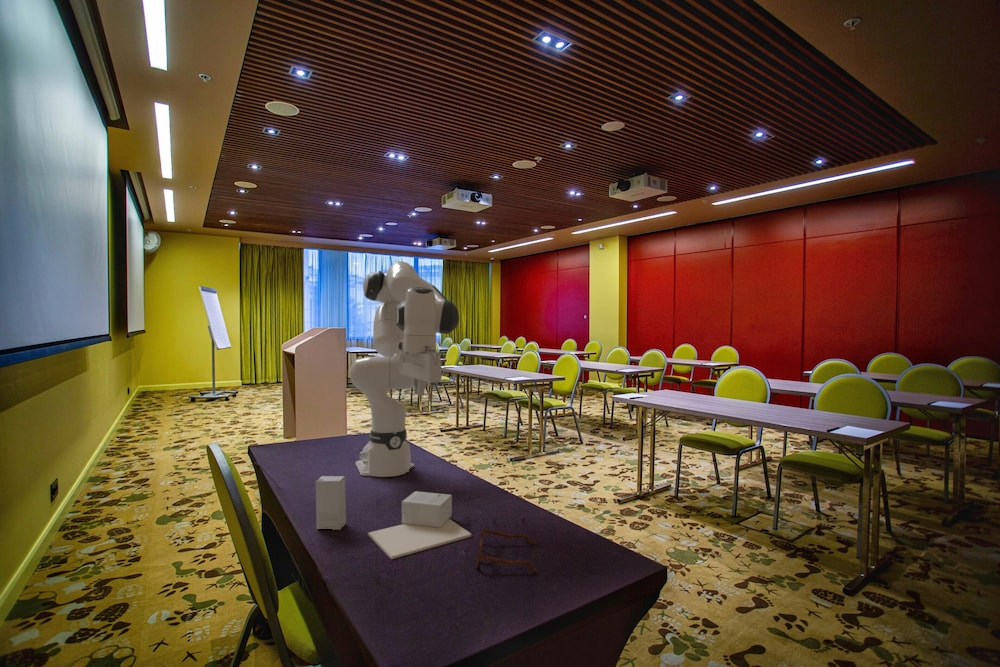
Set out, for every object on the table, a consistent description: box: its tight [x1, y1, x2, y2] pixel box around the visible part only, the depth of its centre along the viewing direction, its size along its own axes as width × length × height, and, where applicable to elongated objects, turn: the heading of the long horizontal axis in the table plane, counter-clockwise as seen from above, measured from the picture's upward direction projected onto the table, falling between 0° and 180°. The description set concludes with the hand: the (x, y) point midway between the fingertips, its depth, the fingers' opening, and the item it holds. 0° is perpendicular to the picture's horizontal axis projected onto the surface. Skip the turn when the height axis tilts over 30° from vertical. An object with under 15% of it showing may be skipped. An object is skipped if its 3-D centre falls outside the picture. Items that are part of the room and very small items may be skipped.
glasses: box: [475, 526, 538, 572], centre depth 103 cm, size 13×13×5 cm
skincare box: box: [315, 475, 347, 531], centre depth 116 cm, size 6×4×12 cm
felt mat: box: [367, 518, 472, 560], centre depth 112 cm, size 14×20×1 cm
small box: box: [401, 490, 453, 528], centre depth 120 cm, size 8×6×10 cm
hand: (419, 394), depth 133 cm, fingers closed
